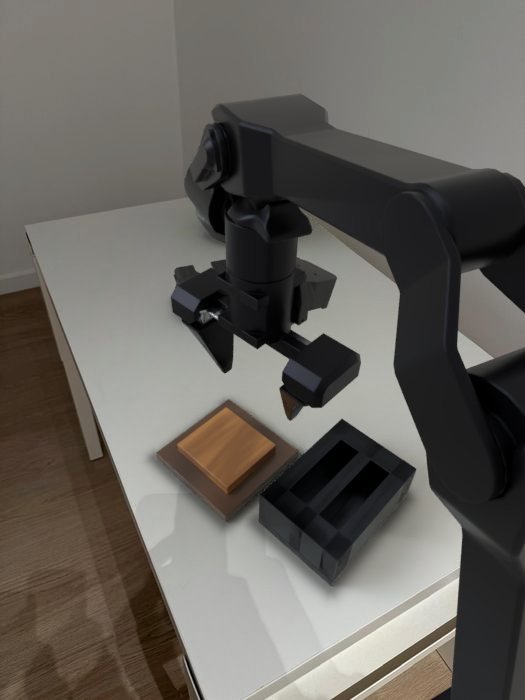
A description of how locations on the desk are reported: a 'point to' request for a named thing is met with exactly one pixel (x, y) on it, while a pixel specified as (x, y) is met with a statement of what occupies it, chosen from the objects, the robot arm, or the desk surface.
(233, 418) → the toast
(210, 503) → the board
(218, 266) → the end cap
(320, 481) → the toaster
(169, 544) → the desk surface
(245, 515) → the desk surface
